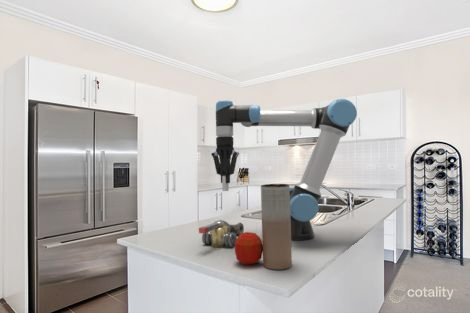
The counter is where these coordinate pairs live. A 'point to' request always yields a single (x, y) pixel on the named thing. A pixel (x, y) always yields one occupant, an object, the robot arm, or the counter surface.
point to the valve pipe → (219, 238)
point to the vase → (276, 226)
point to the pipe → (234, 228)
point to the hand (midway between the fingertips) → (225, 190)
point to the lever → (211, 227)
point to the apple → (248, 248)
